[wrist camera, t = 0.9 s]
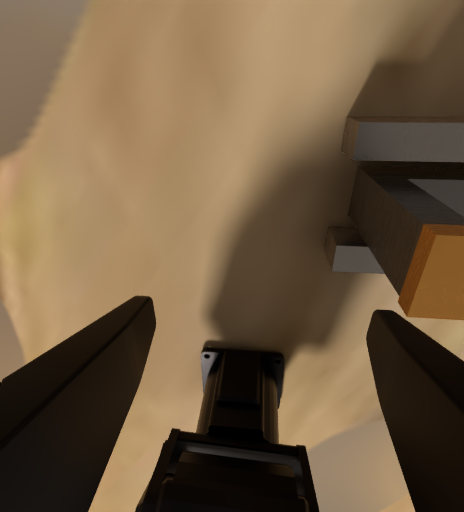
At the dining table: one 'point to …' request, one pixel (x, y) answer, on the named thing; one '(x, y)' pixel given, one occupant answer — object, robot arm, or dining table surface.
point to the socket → (389, 149)
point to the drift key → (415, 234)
